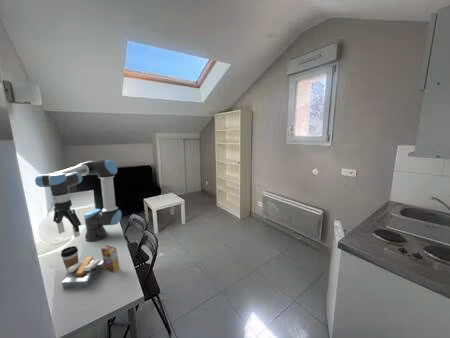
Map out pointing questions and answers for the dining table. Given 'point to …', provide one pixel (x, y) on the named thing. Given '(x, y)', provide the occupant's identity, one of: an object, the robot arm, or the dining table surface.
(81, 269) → the long orange bar
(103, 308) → the dining table surface
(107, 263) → the candy box
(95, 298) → the dining table surface
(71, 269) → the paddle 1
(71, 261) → the coffee cup
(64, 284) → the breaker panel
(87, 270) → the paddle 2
